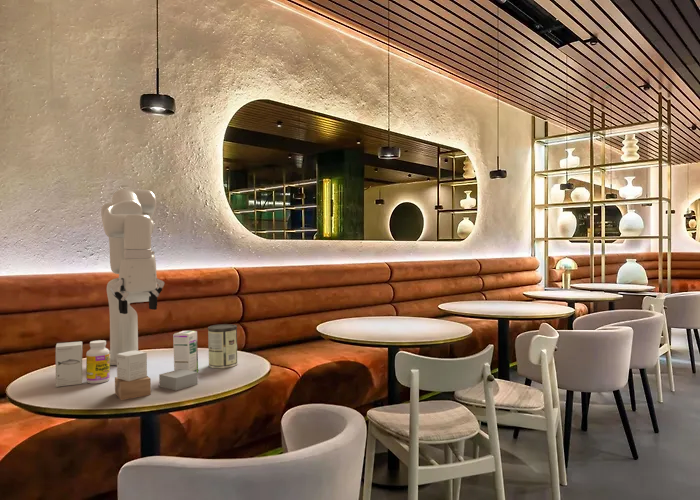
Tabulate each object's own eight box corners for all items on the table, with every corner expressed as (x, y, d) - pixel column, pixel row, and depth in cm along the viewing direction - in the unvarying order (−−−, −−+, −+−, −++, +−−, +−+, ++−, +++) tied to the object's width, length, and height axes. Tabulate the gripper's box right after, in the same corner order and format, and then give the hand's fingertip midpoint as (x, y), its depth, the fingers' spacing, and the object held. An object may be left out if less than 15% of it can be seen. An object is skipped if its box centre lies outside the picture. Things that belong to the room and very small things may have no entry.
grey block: (159, 387, 151) (159, 374, 151) (181, 381, 157) (180, 368, 157) (176, 391, 146) (176, 378, 146) (197, 384, 153) (197, 372, 153)
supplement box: (55, 387, 151) (54, 346, 150) (56, 381, 157) (56, 342, 157) (82, 384, 154) (81, 344, 154) (83, 378, 161) (82, 340, 160)
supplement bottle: (94, 385, 153) (93, 344, 152) (82, 382, 156) (81, 342, 156) (114, 380, 158) (113, 340, 158) (102, 377, 162) (101, 338, 162)
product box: (116, 378, 142) (115, 353, 142) (135, 374, 148) (135, 349, 147) (128, 381, 139) (127, 356, 139) (147, 376, 144) (147, 352, 144)
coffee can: (215, 361, 183) (215, 323, 183) (241, 362, 181) (241, 324, 181) (203, 368, 173) (202, 328, 173) (230, 369, 171) (229, 329, 171)
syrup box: (189, 377, 160) (189, 333, 160) (173, 376, 162) (172, 333, 162) (198, 373, 166) (197, 330, 166) (182, 372, 167) (182, 330, 167)
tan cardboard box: (115, 394, 144) (114, 377, 144) (143, 389, 149) (143, 372, 149) (121, 400, 138) (120, 383, 138) (150, 395, 142) (150, 378, 142)
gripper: (156, 254, 157) (156, 306, 158) (103, 255, 143) (104, 313, 144) (170, 254, 153) (170, 308, 154) (117, 256, 139) (118, 316, 139)
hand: (138, 311), depth 149 cm, fingers open, 9 cm apart
